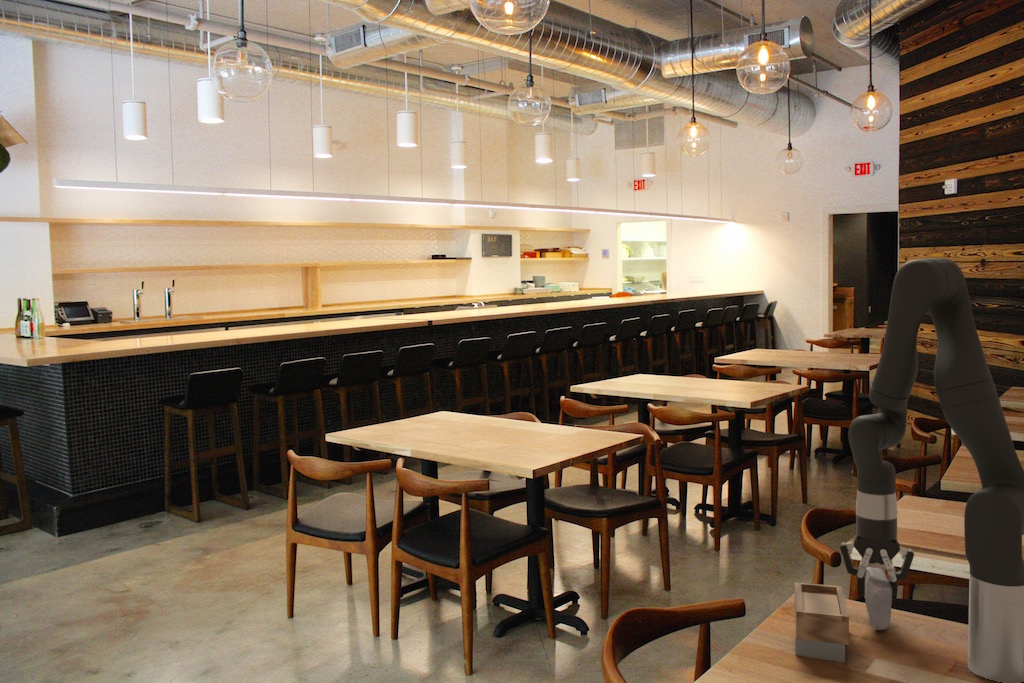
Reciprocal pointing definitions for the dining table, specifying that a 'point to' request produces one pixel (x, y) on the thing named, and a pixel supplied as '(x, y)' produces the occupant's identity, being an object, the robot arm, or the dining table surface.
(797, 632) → the tan open box
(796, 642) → the base slab
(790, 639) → the dining table surface
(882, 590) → the stone block
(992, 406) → the robot arm
